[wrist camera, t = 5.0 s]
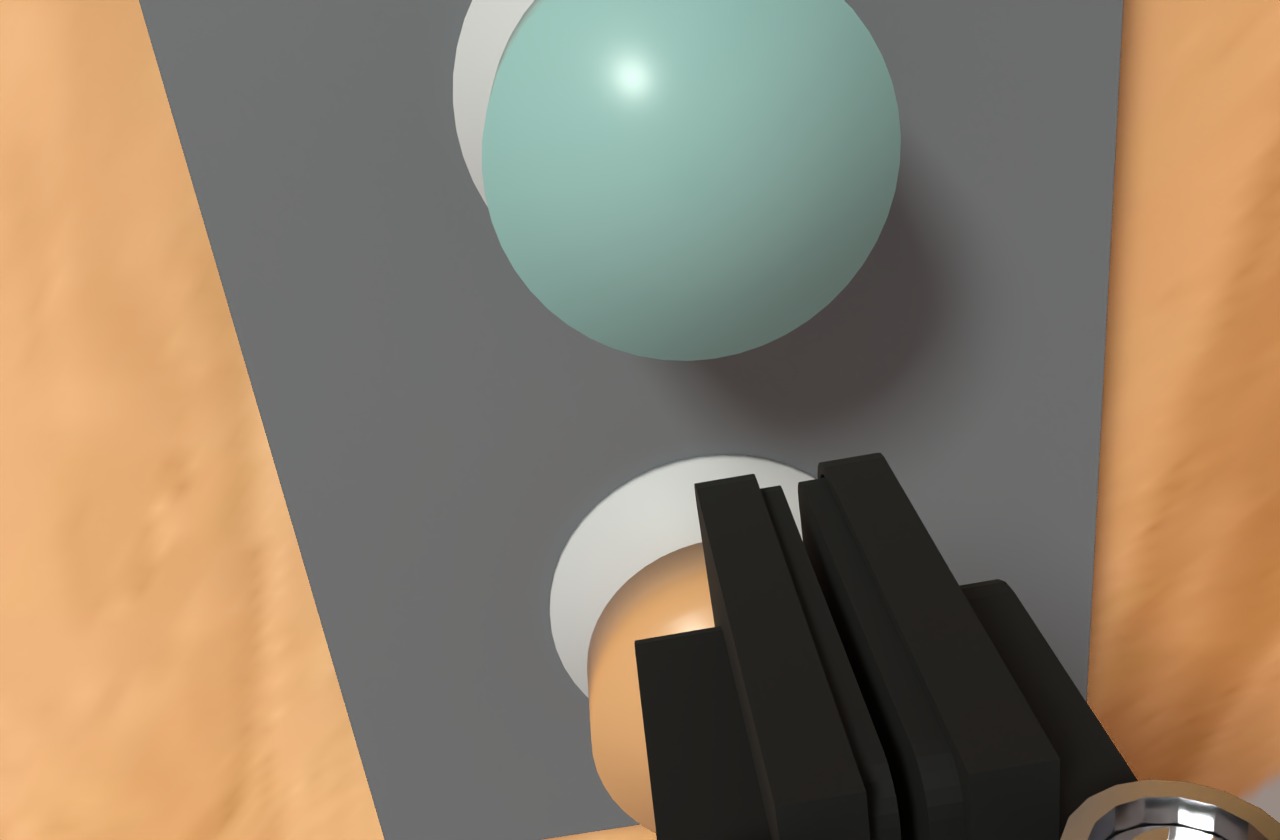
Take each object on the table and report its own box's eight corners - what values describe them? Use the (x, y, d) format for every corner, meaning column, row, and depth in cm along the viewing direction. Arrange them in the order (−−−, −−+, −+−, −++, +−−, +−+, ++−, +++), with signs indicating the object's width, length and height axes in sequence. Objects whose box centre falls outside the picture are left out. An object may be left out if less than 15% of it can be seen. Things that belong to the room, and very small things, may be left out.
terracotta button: (850, 487, 19) (896, 578, 17) (862, 713, 22) (905, 825, 19) (565, 529, 19) (569, 627, 17) (604, 752, 21) (613, 869, 19)
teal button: (834, -97, 15) (894, -92, 12) (851, 262, 17) (905, 331, 14) (459, -46, 15) (444, -29, 12) (522, 309, 17) (520, 386, 14)
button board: (1108, -1271, 13) (1210, -1472, 11) (1044, 693, 25) (1087, 763, 23) (-129, -1122, 13) (-250, -1304, 11) (401, 790, 25) (390, 870, 23)
